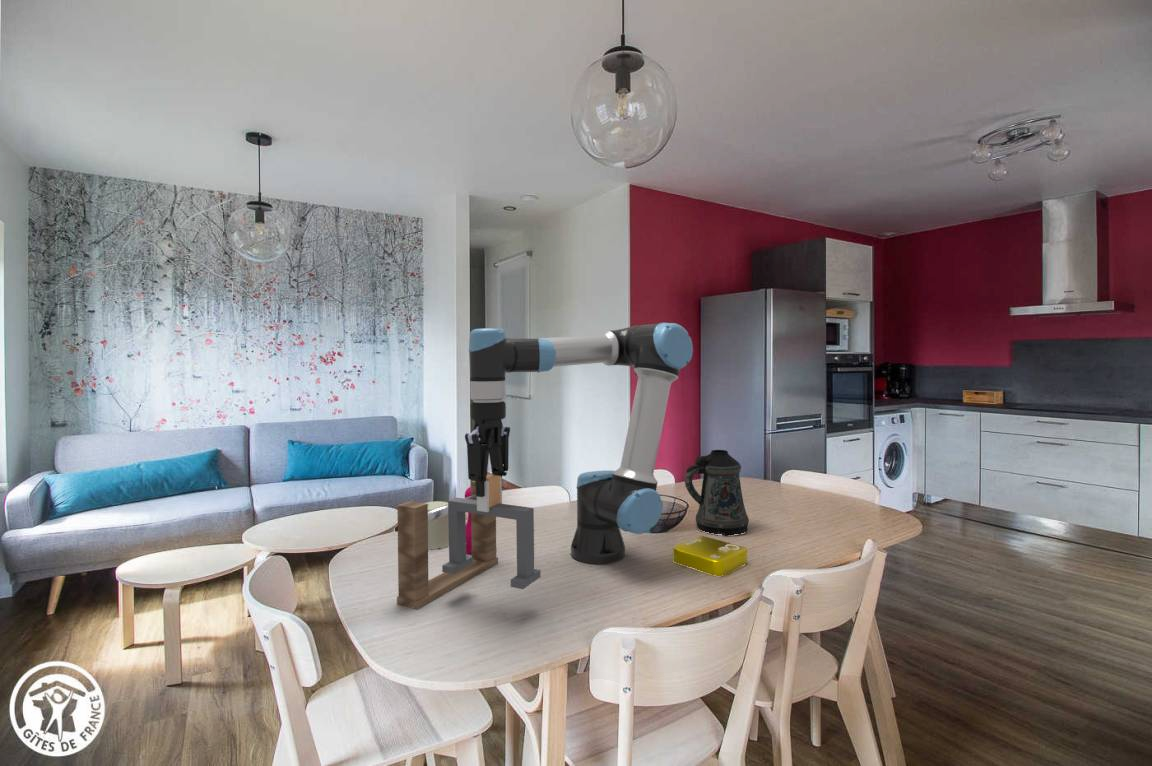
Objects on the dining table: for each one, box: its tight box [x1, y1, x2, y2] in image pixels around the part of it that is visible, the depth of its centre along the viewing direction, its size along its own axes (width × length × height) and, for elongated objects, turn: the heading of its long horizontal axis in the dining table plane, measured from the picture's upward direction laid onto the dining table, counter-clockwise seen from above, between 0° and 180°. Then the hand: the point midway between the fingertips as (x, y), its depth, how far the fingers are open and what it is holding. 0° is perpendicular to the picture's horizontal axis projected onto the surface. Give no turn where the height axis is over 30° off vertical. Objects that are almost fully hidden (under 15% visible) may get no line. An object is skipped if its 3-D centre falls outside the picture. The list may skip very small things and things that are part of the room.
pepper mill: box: [464, 486, 472, 555], centre depth 153 cm, size 7×7×20 cm
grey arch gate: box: [441, 473, 541, 590], centre depth 118 cm, size 21×7×22 cm, turn 63°
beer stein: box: [684, 449, 750, 535], centre depth 173 cm, size 16×19×25 cm
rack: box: [396, 480, 499, 610], centre depth 132 cm, size 6×30×22 cm, turn 153°
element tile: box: [672, 535, 748, 577], centre depth 145 cm, size 15×15×5 cm
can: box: [425, 500, 449, 550], centre depth 159 cm, size 9×9×12 cm
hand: (489, 507), depth 118 cm, fingers closed on grey arch gate, 4 cm apart
